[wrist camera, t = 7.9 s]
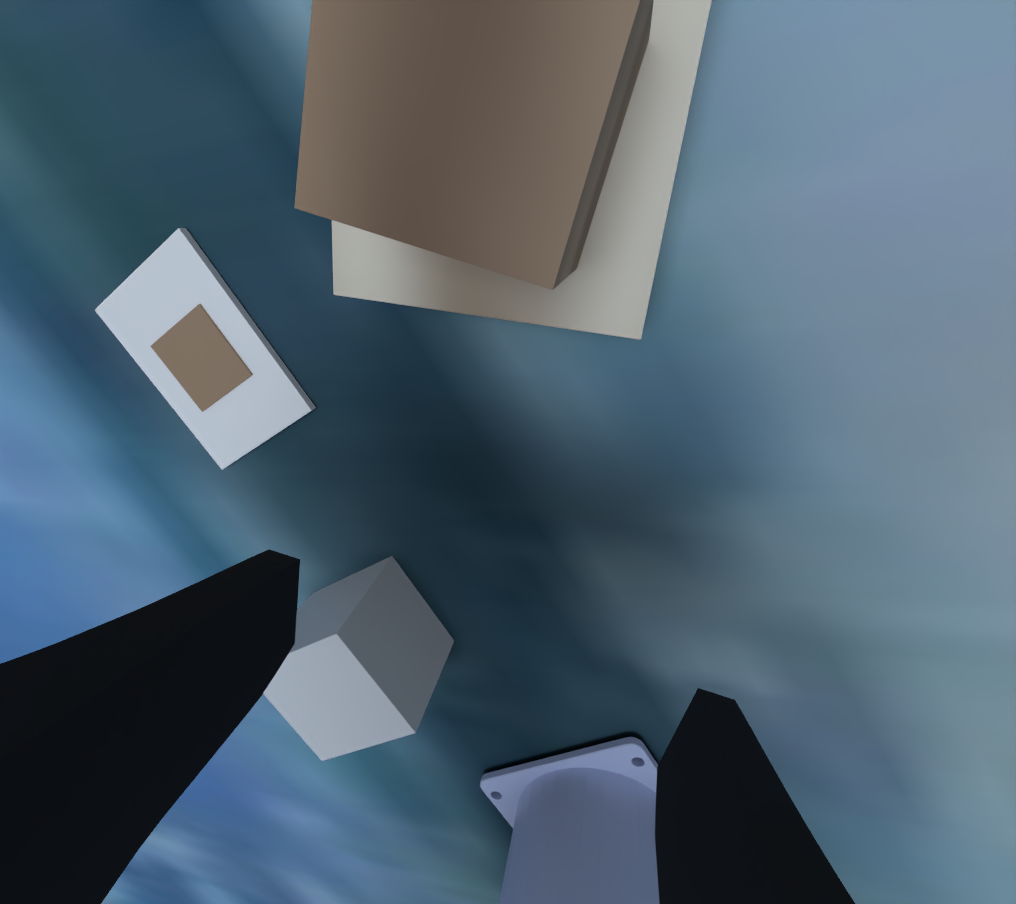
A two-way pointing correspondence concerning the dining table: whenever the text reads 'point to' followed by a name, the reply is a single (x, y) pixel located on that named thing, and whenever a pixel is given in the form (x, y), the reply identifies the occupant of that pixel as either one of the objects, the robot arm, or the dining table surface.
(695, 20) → the birch base block
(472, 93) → the walnut block
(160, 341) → the card
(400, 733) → the grey block
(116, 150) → the dining table surface
